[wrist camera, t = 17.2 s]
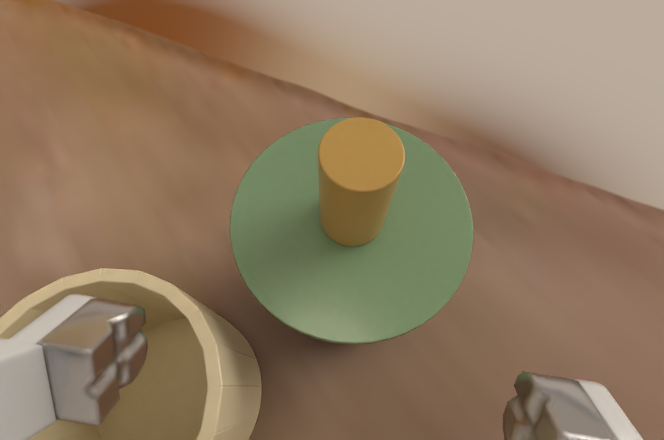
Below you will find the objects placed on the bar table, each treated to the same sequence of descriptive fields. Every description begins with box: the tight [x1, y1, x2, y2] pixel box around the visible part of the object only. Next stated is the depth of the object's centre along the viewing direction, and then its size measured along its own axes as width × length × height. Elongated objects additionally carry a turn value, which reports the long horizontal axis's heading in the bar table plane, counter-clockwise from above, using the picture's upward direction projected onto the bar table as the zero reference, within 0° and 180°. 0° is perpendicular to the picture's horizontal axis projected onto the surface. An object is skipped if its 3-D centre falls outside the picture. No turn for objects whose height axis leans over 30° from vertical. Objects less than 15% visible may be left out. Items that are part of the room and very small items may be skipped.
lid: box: [230, 118, 473, 345], centre depth 16 cm, size 11×11×7 cm
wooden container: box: [0, 268, 262, 440], centre depth 20 cm, size 10×10×10 cm
